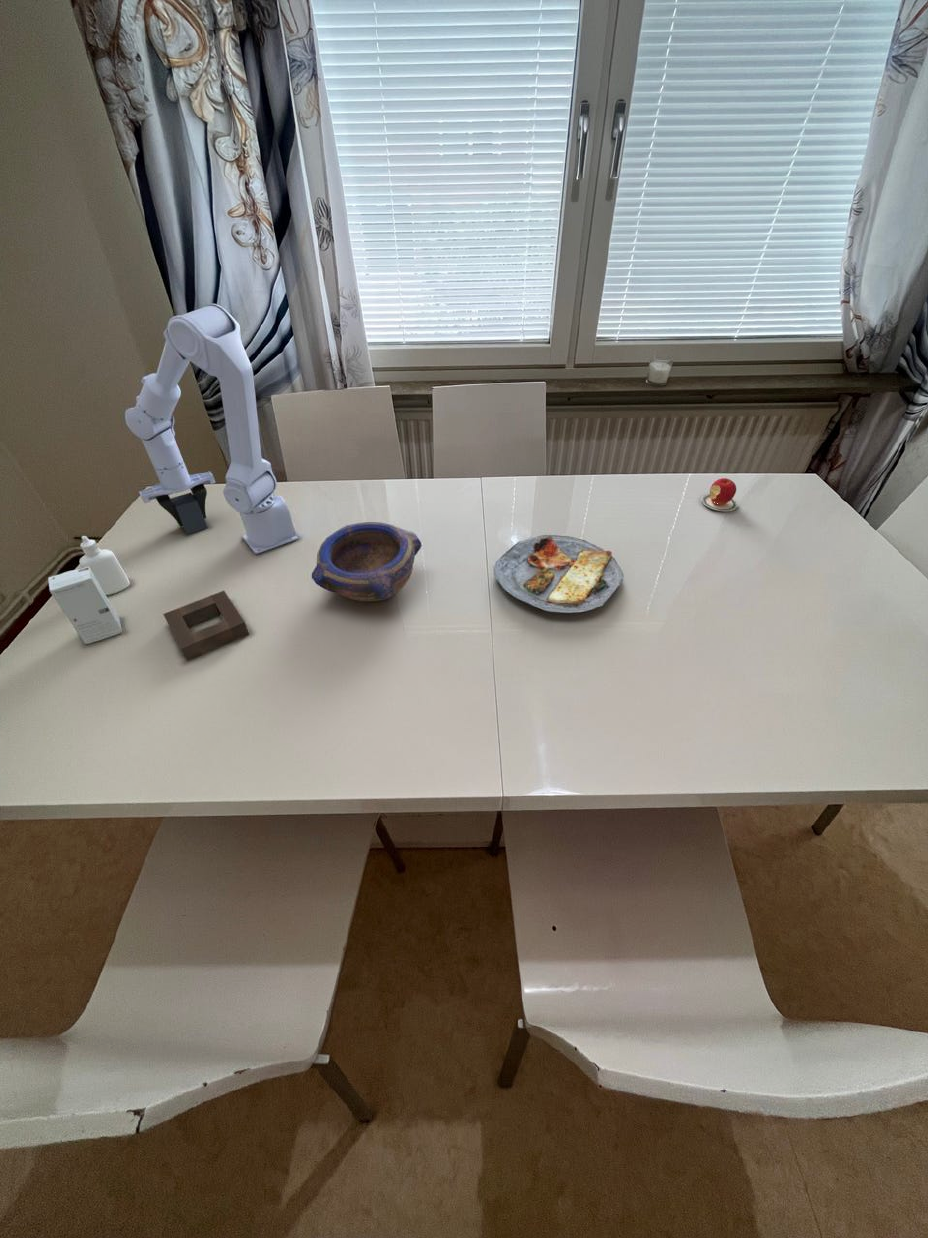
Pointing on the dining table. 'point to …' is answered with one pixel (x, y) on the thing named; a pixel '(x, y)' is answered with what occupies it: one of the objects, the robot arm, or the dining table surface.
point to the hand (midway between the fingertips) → (192, 520)
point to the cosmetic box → (85, 604)
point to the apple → (721, 495)
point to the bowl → (366, 561)
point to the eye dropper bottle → (103, 567)
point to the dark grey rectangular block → (189, 513)
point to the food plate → (558, 573)
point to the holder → (211, 635)
